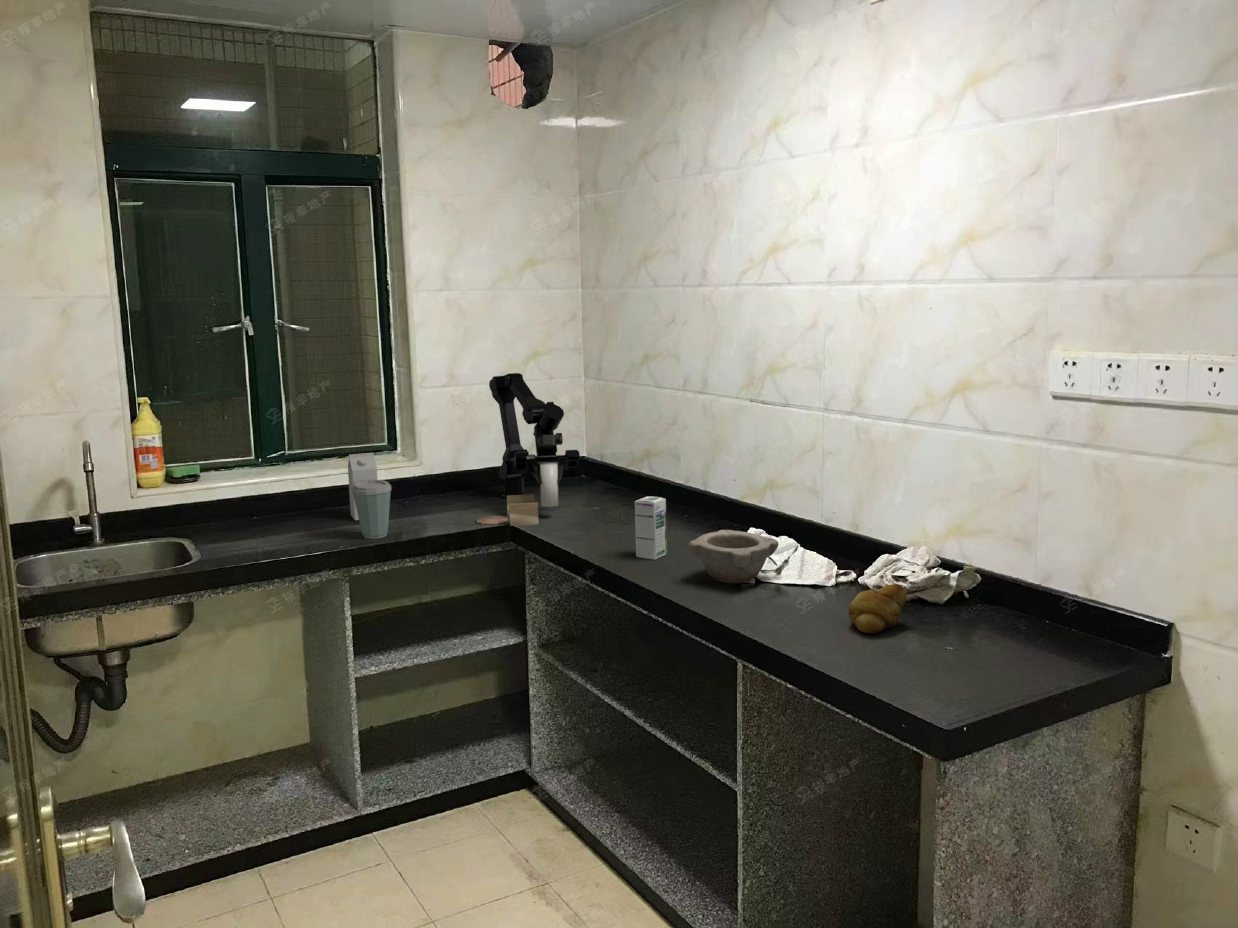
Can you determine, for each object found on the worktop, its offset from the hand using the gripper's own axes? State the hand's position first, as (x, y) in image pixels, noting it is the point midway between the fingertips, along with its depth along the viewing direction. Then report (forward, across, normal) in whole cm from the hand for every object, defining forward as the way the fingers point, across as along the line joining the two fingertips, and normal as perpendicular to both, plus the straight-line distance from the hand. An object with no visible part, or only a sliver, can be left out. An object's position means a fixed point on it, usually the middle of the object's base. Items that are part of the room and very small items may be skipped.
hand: (549, 483), depth 281 cm
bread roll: (+82, +51, -67) cm, 117 cm away
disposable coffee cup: (+14, -49, +1) cm, 51 cm away
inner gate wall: (+2, -8, +12) cm, 15 cm away
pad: (+6, -17, +8) cm, 20 cm away
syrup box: (+40, +20, -25) cm, 51 cm away
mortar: (+56, +34, -41) cm, 77 cm away
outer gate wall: (+11, -8, +4) cm, 14 cm away
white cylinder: (+4, 0, +6) cm, 7 cm away
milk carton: (-3, -53, +18) cm, 56 cm away
